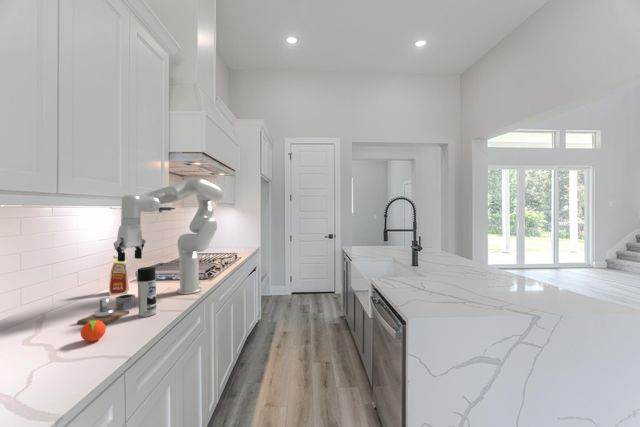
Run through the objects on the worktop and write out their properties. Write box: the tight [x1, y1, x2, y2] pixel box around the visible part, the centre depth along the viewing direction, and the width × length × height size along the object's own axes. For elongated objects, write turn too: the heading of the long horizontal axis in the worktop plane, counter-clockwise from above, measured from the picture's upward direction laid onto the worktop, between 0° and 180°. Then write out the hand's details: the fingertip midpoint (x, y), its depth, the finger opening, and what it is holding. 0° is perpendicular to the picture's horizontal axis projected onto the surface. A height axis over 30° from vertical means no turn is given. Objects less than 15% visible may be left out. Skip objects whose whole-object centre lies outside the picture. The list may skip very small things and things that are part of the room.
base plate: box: [76, 309, 130, 326], centre depth 127 cm, size 13×12×1 cm
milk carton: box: [108, 255, 130, 297], centre depth 166 cm, size 9×9×20 cm
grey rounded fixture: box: [94, 297, 115, 318], centre depth 127 cm, size 7×7×7 cm
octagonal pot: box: [115, 293, 136, 311], centre depth 141 cm, size 7×7×5 cm
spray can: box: [137, 266, 157, 318], centre depth 131 cm, size 7×7×20 cm
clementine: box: [80, 320, 107, 343], centre depth 105 cm, size 8×7×7 cm
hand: (129, 259), depth 140 cm, fingers open, 9 cm apart
